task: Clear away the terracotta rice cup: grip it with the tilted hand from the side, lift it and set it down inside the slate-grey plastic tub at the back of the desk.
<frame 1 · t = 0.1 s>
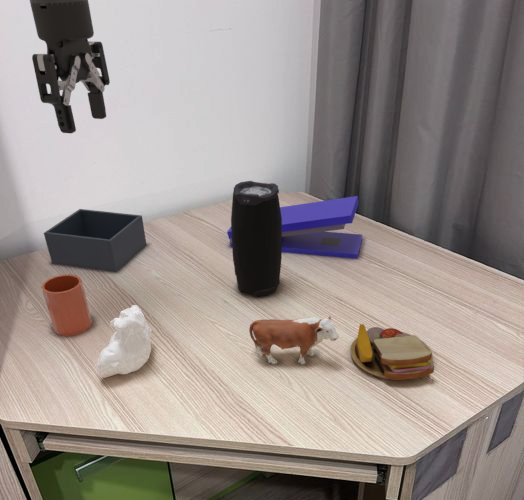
hand: (84, 125, 82), 31 cm above the table, tool pointing down, fingers open, 8 cm apart
bust: (131, 365, 84), on the table
stapler: (295, 244, 118), on the table
toy sandwich meal: (393, 361, 84), on the table
rice cup: (73, 326, 93), on the table
portable speaker: (258, 289, 103), on the table
tub: (100, 255, 116), on the table
bull figurine: (293, 360, 84), on the table
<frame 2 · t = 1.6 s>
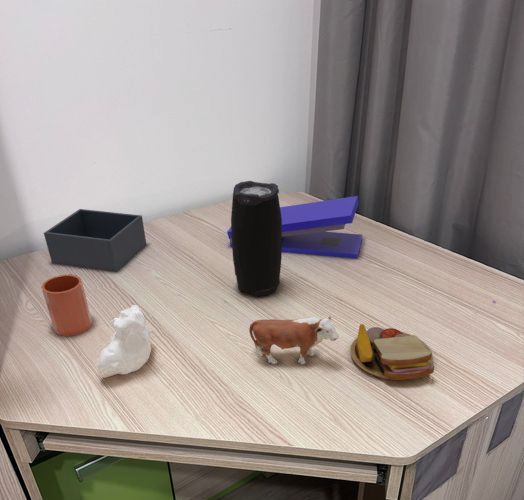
nothing on the table moved.
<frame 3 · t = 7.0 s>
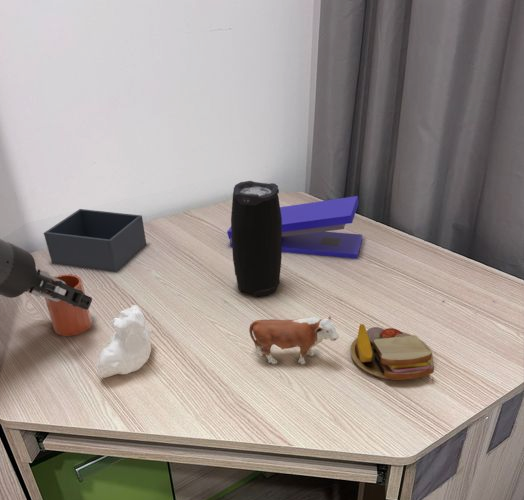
hand: (74, 298, 91), 5 cm above the table, tool tilted 45°, fingers closed on rice cup, 6 cm apart
rice cup: (73, 326, 93), on the table, touching gripper
everything else where it was.
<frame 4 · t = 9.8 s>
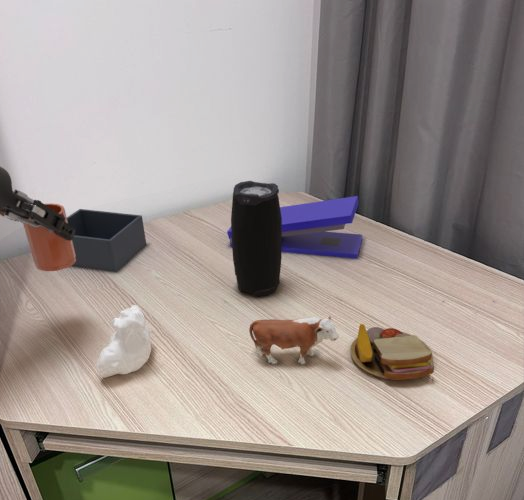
hand: (56, 229, 84), 17 cm above the table, tool tilted 45°, fingers closed on rice cup, 6 cm apart
rice cup: (55, 262, 86), point 12 cm above the table, touching gripper
everything else where it was.
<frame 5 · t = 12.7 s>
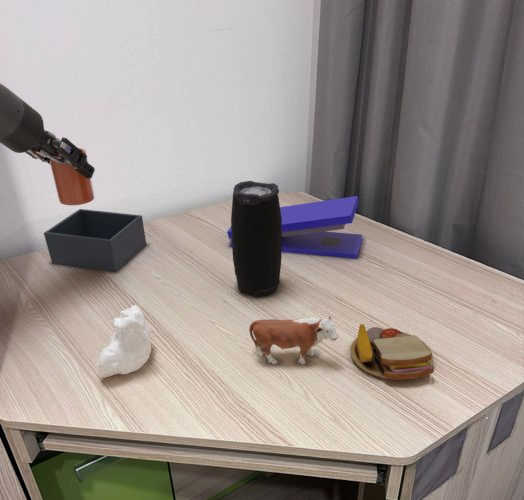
hand: (78, 170, 99), 20 cm above the table, tool tilted 45°, fingers closed on rice cup, 6 cm apart
rice cup: (77, 199, 100), point 15 cm above the table, touching gripper
everything else where it was.
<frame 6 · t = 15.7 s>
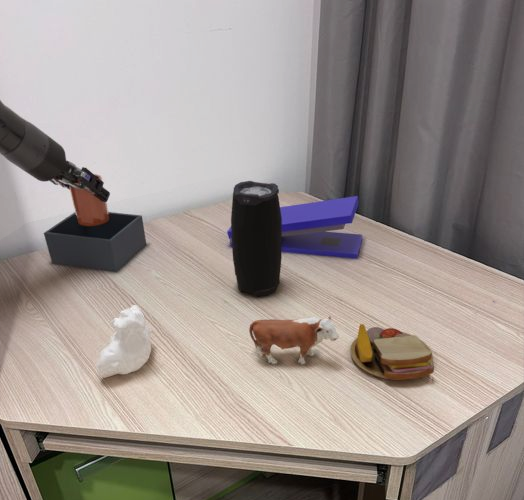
hand: (94, 194, 109), 13 cm above the table, tool tilted 45°, fingers closed on rice cup, 6 cm apart
rice cup: (93, 220, 111), point 8 cm above the table, touching gripper
everything else where it was.
when the fingers open (5 cm above the table, at t = 18.4 s): rice cup stays where it is, resting on tub.
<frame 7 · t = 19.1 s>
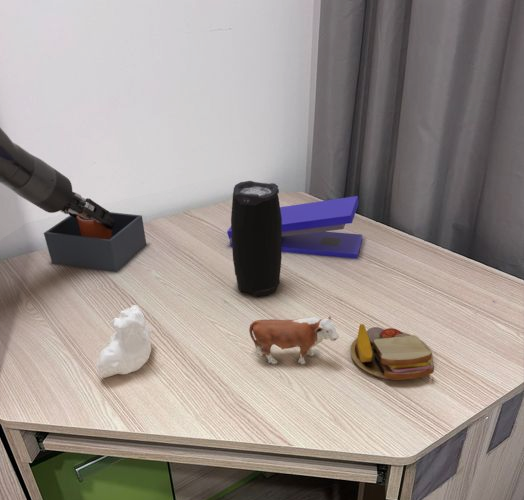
hand: (97, 221, 112), 7 cm above the table, tool tilted 45°, fingers open, 8 cm apart
rice cup: (100, 252, 115), point 1 cm above the table, touching tub
everything else where it was.
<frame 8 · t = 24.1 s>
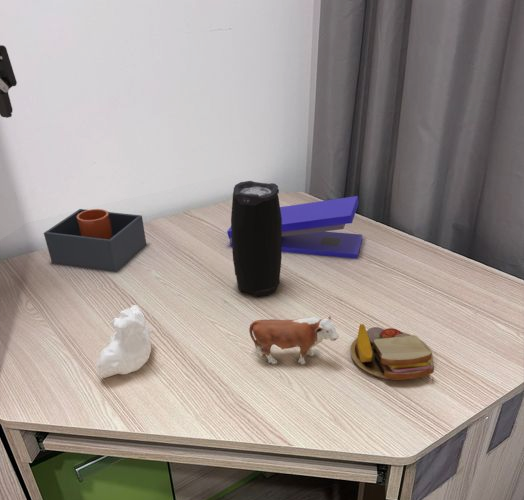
nothing on the table moved.
at the end: rice cup inside the target area in the tub (0.1 cm from its centre), point 0.6 cm above the tub's base; rice cup tilted 0°; the gripper is holding nothing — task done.
